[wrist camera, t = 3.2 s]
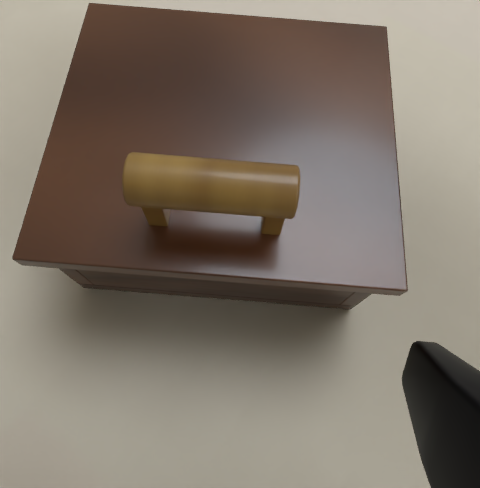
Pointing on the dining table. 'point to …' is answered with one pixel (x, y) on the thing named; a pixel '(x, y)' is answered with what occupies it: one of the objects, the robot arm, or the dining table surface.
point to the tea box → (216, 289)
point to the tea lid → (222, 153)
